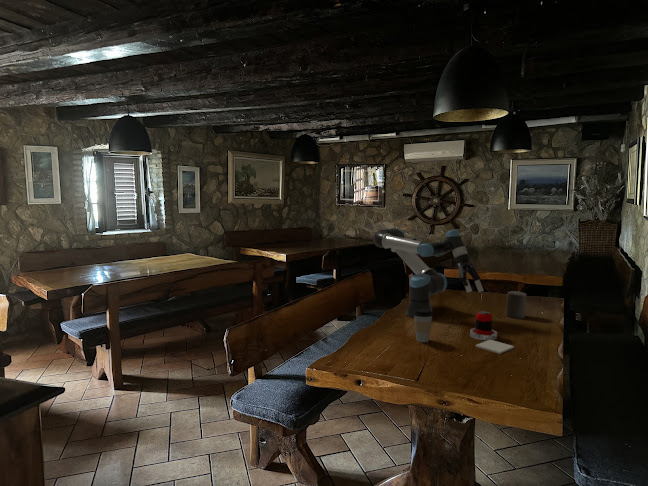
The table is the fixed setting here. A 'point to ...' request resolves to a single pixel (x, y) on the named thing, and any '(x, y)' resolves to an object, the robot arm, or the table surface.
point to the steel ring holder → (483, 337)
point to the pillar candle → (516, 304)
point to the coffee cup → (422, 324)
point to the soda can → (483, 323)
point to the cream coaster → (494, 346)
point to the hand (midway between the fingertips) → (475, 291)
